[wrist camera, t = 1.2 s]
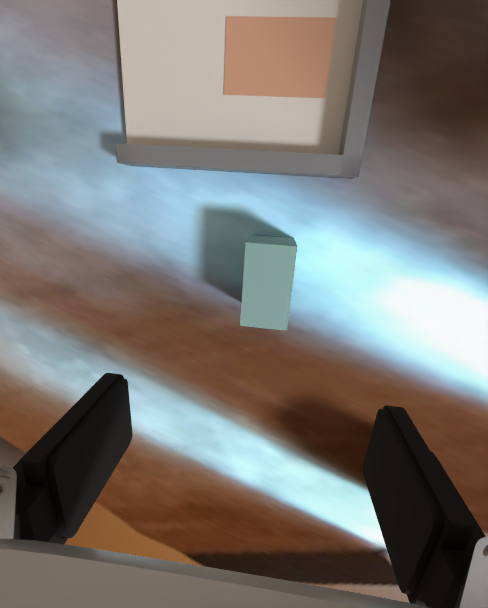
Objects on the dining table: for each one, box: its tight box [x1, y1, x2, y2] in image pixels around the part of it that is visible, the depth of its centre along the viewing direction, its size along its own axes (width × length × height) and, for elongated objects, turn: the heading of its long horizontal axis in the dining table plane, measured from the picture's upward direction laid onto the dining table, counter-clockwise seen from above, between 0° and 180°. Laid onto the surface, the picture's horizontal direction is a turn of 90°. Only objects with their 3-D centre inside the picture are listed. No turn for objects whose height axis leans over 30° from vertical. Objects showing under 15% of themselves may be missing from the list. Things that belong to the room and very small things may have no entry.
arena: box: [116, 0, 391, 179], centre depth 24 cm, size 22×22×3 cm
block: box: [240, 235, 297, 330], centre depth 29 cm, size 4×8×6 cm, turn 177°
